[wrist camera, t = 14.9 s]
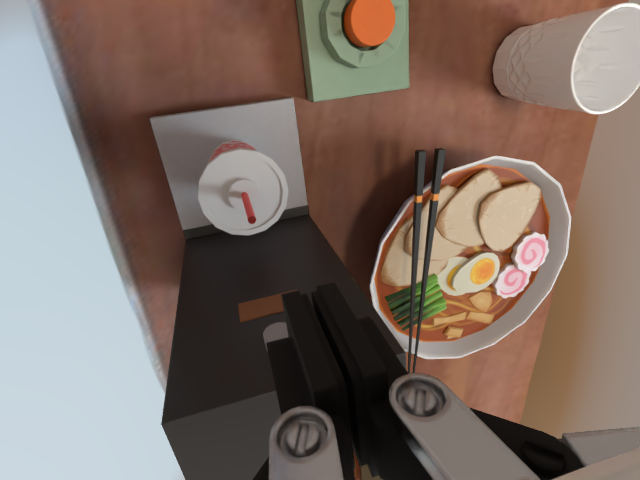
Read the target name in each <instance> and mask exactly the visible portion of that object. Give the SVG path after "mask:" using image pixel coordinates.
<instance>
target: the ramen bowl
mask: <svg viewBox="0 0 640 480" xmlns="http://www.w3.org/2000/svg"><path fill="white" fill-rule="evenodd" d="M445 151H446V150H445V149H442V148H438V149H435V154H434V164H433V174H432V181H431V182H430V183H428V184H427V185H426V186H424V187H423V185H424V172H425V158H426V151H424V150H415V178H414V195H412V196H411V197H410V198H408V199H407V200H406V201H405V202H404V203H403V205H402V206H401V208H400V209H399V211H398V212H397V214H396V215H395V217H394V218H393V220H392V221H391V223H390V224H389V226H388V227H387V229H386V230H385V232H384V233H383V235H382V237H381V239H380V243H379V247H378V250H377V254H376V258H375V262H374V266H373V270H372V274H371V278H370V291H371V296H372V301H373V307H374V308H375V310H376V311H377V312H378V314H379V315H380V317H381V318H382V320H383V321H384V322H385V324H386V325H387V327H388V328H389V330H390V331H391V332H392V334H393V335H394V337H395V338H396V339H397V341H398V342H399V344H400V345H401V347H402V348H403V349H404V351H406V352H408V353H409V354H408V374H410V362H411V354H414V364H413V373H415V365H416V358H417V356H419V357H422V358H424V359H445V358H461V357H464V356H466V355H469V354H471V353H474V352H476V351H479V350H481V349H484V348H486V347H489V346H492V345H494V344H496V343H497V342H498V341H500V340H501V339H502V338H504V337H505V336H507V335H508V334H509V333H511V332H512V331H513V330H515V329H516V328H518V327H519V326H520V325H522V324H523V323H524V322H526V321H527V319H528V318H529V317H530V316H531V315H532V313H533V312H534V311H535V310H536V308H537V307H538V306H539V305H540V303H541V302H542V301H543V300H544V299H545V297H546V296H547V295H548V294H549V292H550V291H551V290H552V287H553V285H554V283H555V281H556V279H557V277H558V274H559V272H560V270H561V268H562V266H563V264H564V261H565V259H566V257H567V255H568V246H569V236H570V226H571V215H570V212H569V208H568V205H567V202H566V199H565V196H564V193H563V189H562V186H561V184H560V183H559V182H557V181H556V180H555V179H554V178H553V177H552V176H550V175H549V174H548V173H547V172H546V171H544V170H543V169H542V168H541V167H540V166H538V165H537V164H536V163H535V162H531V161H525V160H519V159H513V158H507V157H501V156H493V157H490V158H486V159H483V160H480V161H477V162H474V163H470V164H467V165H464V166H461V167H458V168H454V169H451V170H448V171H446V172H443V165H444V158H445ZM442 172H443V173H442Z"/></svg>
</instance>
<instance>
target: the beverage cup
mask: <svg viewBox="0 0 640 480" xmlns="http://www.w3.org/2000/svg"><path fill="white" fill-rule="evenodd" d="M288 191H289V190H288V186H287V182H286V178H285V175H284V173H283V172H282V171H281V169H280V168H279V167H278V165H277V164H276V163H275V161H274V160H273V159H272V158H270V157H268V156H266V155H265V154H263V153H261V152H259V151H258V150H257V149H255V148H254V147H253V146H252V145H250V144H248V143H246V142H245V141H241V140H229V141H226V142H223V143H221V144H220V145H219V146H218V147H216V148H215V150H214V151H213V153H212V155H211V157H210V160H209V163H208V164H207V166H206V168H205V169H204V171H203V173H202V175H201V177H200V180H199V191H198V200H199V203H200V205H201V208H202V211H203V213H204V215H205V216H206V217H207V218H208V219H209V221H210V222H211V223H212V224H213V225H214V226H215V227H216V228H219V229H221V230H223V231H225V232H227V233H230V234H233V235H252V234H255V233H259V232H262V231H265V230H266V229H268V228H269V227H270V226H271V225H273V224H274V223H275V222H277V221H278V219H279V218H280V216H281V214H282V213H283V211H284V209H285V208H286V205H287V198H288Z"/></svg>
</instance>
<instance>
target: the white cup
mask: <svg viewBox="0 0 640 480" xmlns="http://www.w3.org/2000/svg"><path fill="white" fill-rule="evenodd" d="M492 70H493V78H494V84H495V86H496V87H497V89H498V90H499V92H500V93H501V95H503V96H505V97H508V98H510V99H513V100H519V101H525V102H527V103H532V104H538V105H543V106H548V107H553V108H559V109H566V110H572V111H578V112H584V113H590V114H603V113H607V112H610V111H612V110H614V109H616V108H618V107H619V106H621V105H622V104H623V103H624V102H625V101H627V100H628V99H629V98H630V97H631V96H632V95H633V94H634V92H635V91H636V90H637V88H638V87H639V86H640V5H638V4H635V3H621V4H617V5H612V6H607V7H603V8H598V9H594V10H589V11H584V12H579V13H574V14H570V15H567V16H563V17H558V18H554V19H550V20H546V21H544V22H542V23H538V24H535V25H530V26H525V27H520V28H518V29H516V30H515V31H514V32H512V33H511V34H510V35H508V36H507V37H506V38H505V39H504V41H503V42H502V44H501V46H500V47H499V49H498V50H497V52H496V56H495V60H494V64H493V68H492Z"/></svg>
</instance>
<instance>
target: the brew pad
mask: <svg viewBox="0 0 640 480" xmlns="http://www.w3.org/2000/svg"><path fill="white" fill-rule="evenodd" d="M351 1H352V0H296V5H297V13H298V22H299V30H300V39H301V47H302V55H303V64H304V72H305V80H306V89H307V97H308V100H309V101H312V102H318V101H325V100H331V99H338V98H345V97H352V96H358V95H365V94H372V93H379V92H385V91H392V90H399V89H406V88H409V7H408V0H391V2H392V4H393V6H394V10H395V25H394V28H393V31H392V33H391V35H390V36H389V37H388V39H387V40H386V41H384V42H383V43H381V44H379V45H376V46H370V47H360V46H357V45H355V44H354V43H353V42H351V41H350V39H349V38H348V37H347V35H346V32H345V29H344V13H345V10H346V8H347V6H348V4H349V3H350V2H351Z"/></svg>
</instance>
